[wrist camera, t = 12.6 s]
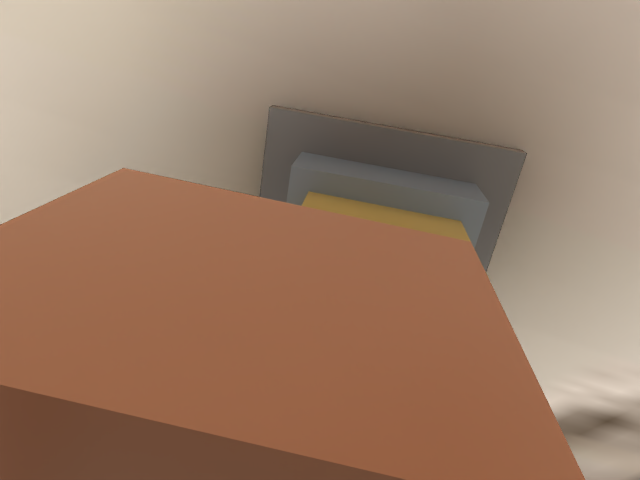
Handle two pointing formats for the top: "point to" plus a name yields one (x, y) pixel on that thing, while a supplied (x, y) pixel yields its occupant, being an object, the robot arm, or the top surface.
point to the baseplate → (394, 152)
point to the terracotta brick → (255, 346)
